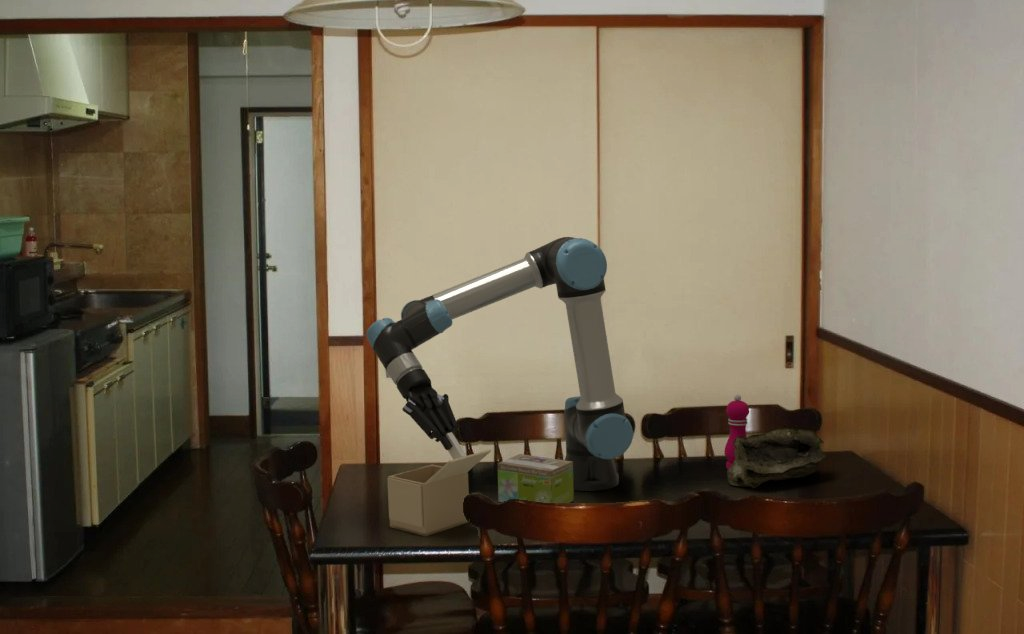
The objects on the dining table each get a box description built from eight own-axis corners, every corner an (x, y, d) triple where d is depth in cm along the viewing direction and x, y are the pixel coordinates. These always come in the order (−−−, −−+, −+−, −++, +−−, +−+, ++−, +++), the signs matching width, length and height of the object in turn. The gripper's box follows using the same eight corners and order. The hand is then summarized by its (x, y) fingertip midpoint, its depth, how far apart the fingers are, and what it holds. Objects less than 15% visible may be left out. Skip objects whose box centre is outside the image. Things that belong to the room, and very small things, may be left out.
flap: (466, 470, 280) (490, 449, 274) (467, 471, 280) (491, 450, 274) (425, 482, 271) (449, 460, 264) (426, 483, 270) (450, 462, 264)
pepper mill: (756, 470, 321) (756, 396, 319) (731, 472, 320) (730, 398, 317) (744, 464, 328) (744, 391, 326) (720, 466, 326) (719, 393, 324)
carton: (434, 512, 291) (432, 463, 290) (471, 521, 283) (469, 471, 281) (386, 527, 280) (384, 476, 279) (423, 537, 272) (421, 485, 270)
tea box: (497, 524, 280) (495, 461, 278) (521, 513, 288) (519, 452, 286) (552, 533, 272) (551, 469, 270) (575, 522, 280) (574, 459, 278)
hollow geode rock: (819, 491, 316) (797, 443, 324) (842, 466, 306) (818, 416, 315) (726, 502, 306) (705, 451, 314) (747, 476, 296) (725, 424, 305)
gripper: (422, 383, 286) (473, 463, 277) (380, 391, 277) (431, 474, 268) (437, 363, 282) (489, 444, 273) (395, 371, 273) (448, 455, 264)
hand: (461, 459), depth 270 cm, fingers closed
